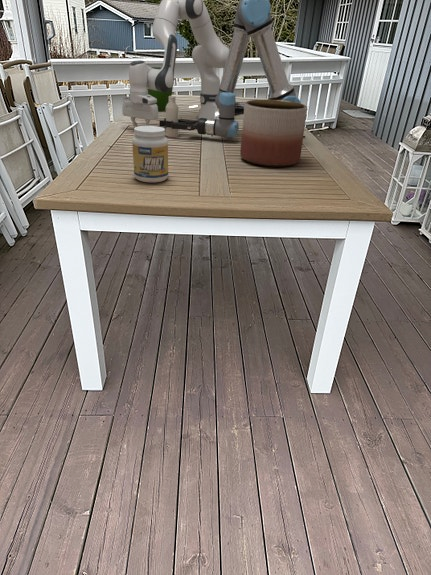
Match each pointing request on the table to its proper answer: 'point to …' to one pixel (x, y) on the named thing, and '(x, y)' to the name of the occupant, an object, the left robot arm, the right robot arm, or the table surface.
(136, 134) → the supplement tub
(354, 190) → the table surface
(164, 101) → the vase
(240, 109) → the sign
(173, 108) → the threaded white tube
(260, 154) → the planter
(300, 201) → the table surface
